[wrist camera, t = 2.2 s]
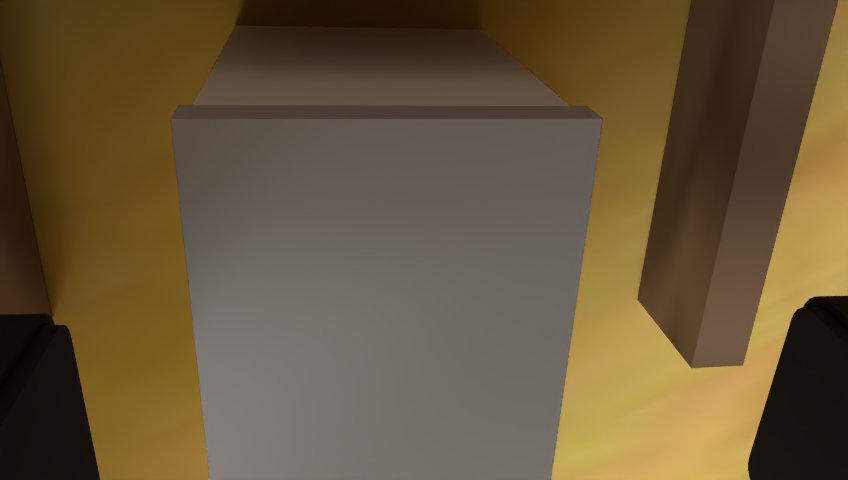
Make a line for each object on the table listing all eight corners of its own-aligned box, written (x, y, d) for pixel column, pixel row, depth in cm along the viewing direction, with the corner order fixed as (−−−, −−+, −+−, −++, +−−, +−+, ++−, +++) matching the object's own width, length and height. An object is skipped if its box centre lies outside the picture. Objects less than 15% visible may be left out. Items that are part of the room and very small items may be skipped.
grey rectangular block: (462, 354, 19) (536, 584, 13) (254, 363, 18) (224, 612, 12) (485, 24, 16) (602, 118, 9) (229, 20, 15) (170, 119, 9)
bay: (682, 297, 19) (781, 408, 15) (-4, 322, 17) (-103, 460, 13) (767, -108, 15) (932, -106, 11) (-116, -147, 13) (-311, -160, 9)
